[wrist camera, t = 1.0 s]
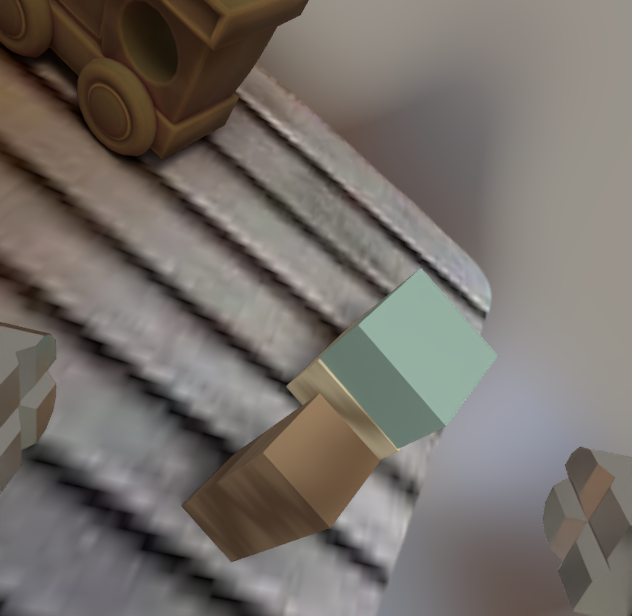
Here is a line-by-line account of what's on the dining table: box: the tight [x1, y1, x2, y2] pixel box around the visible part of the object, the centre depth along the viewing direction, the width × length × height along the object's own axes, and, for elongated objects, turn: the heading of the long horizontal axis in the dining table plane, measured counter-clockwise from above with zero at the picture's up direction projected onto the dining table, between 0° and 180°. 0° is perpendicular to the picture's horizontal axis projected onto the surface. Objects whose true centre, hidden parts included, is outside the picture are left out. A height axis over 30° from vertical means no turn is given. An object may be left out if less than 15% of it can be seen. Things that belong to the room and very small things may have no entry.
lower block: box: [286, 302, 401, 460], centre depth 44 cm, size 8×8×5 cm
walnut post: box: [182, 393, 380, 562], centre depth 32 cm, size 4×4×12 cm
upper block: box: [319, 268, 498, 449], centre depth 40 cm, size 8×8×5 cm
